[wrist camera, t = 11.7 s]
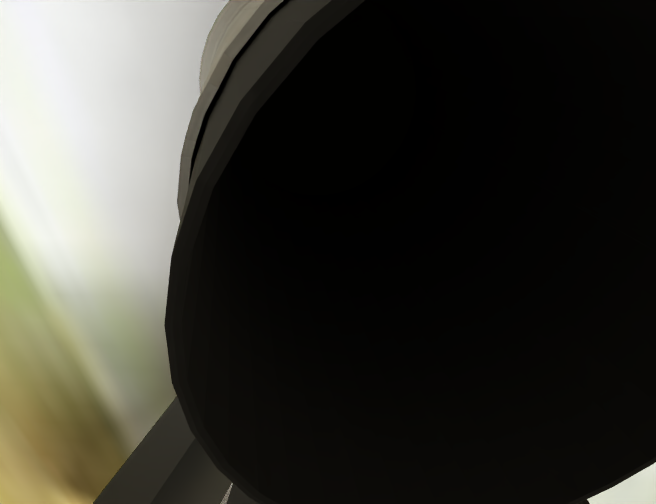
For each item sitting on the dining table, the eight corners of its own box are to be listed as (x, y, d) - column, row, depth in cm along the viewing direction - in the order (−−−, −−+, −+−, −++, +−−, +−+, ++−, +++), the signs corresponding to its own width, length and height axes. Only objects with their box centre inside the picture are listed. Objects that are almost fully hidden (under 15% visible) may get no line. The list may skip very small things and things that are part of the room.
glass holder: (259, -96, 14) (514, -1076, 1) (550, 109, 20) (1158, 294, 7) (165, 144, 17) (-32, 536, 4) (440, 265, 23) (717, 602, 10)
